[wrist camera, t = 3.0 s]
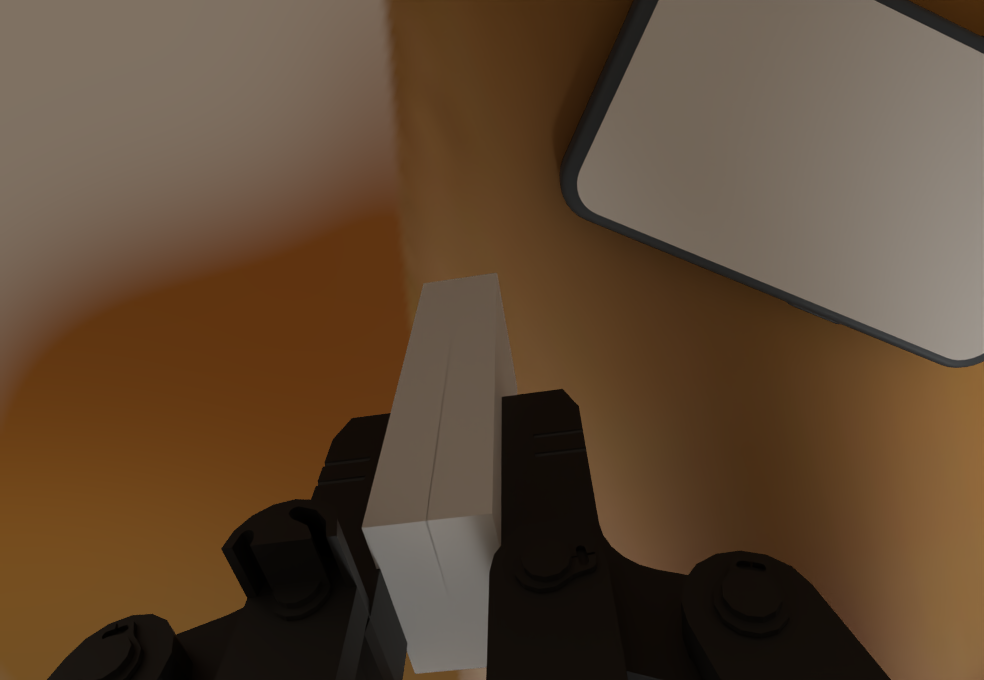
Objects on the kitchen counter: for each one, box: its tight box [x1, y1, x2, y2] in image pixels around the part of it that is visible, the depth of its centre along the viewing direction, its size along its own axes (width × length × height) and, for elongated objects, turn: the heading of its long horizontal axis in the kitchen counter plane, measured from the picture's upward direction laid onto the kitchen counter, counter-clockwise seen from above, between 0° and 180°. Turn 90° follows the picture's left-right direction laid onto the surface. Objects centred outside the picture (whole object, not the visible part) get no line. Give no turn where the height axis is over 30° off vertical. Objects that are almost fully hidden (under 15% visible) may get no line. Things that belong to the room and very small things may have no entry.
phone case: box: [560, 0, 984, 368], centre depth 20 cm, size 9×2×16 cm
